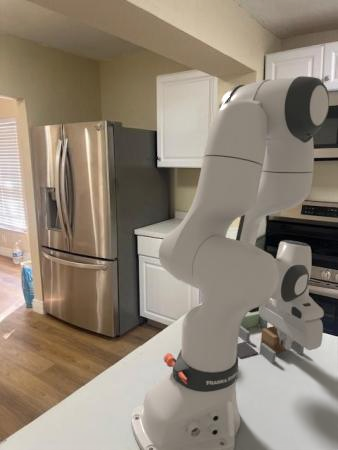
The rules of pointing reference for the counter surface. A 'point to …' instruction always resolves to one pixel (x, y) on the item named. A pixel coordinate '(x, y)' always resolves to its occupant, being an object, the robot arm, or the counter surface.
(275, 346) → the walnut block
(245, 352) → the mats
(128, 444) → the counter surface
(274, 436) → the counter surface
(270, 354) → the rail lane
